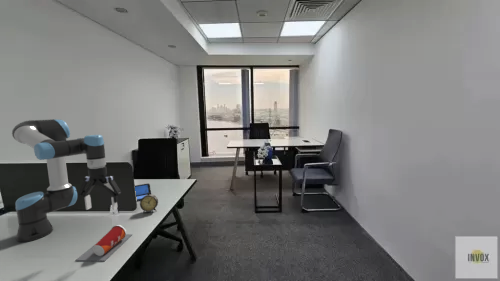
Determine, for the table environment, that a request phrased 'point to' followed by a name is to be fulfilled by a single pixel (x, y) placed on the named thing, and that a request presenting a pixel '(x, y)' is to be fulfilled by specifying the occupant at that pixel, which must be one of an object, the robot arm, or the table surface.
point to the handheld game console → (142, 191)
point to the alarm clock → (149, 202)
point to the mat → (91, 256)
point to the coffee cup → (109, 240)
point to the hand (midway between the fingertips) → (101, 208)
